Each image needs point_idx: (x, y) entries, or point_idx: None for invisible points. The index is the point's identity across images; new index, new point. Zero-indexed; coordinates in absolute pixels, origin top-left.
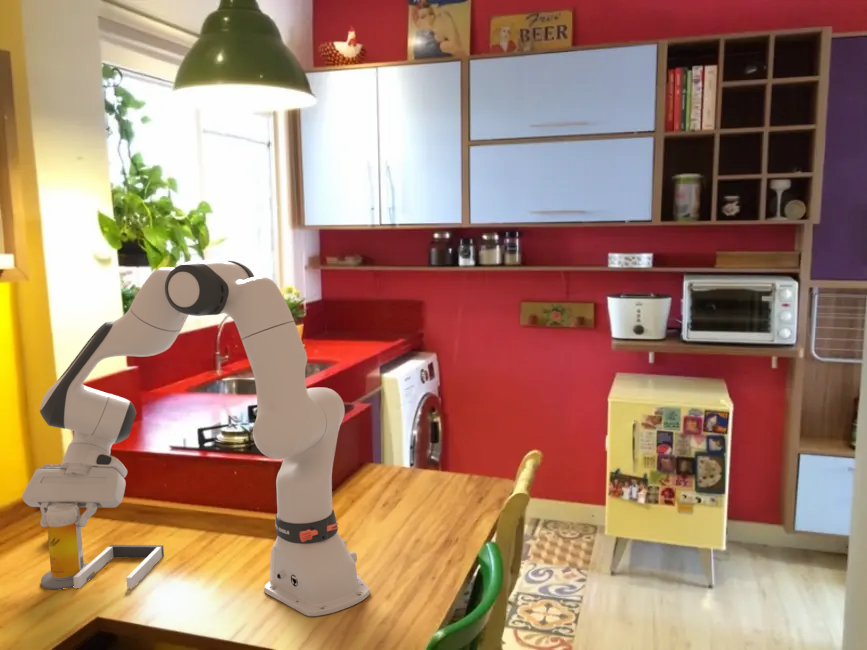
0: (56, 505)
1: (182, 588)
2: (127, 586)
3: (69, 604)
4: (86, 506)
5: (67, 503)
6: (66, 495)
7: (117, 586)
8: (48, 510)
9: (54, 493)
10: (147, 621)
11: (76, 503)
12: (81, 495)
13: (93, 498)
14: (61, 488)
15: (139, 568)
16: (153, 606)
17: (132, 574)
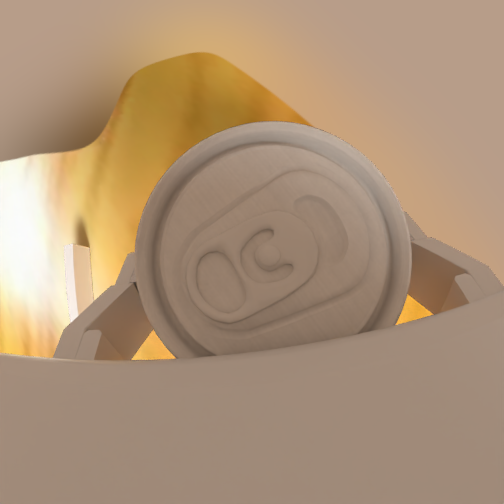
0: (361, 266)
1: (15, 270)
2: (85, 247)
3: (175, 160)
4: (94, 338)
5: (282, 344)
6: (322, 400)
7: (115, 256)
8: (344, 147)
9: (490, 372)
10: (30, 159)
11: (158, 333)
12: (105, 408)
13: (21, 370)
14: (458, 462)
15: (68, 294)
16: (32, 200)
17: (67, 261)
